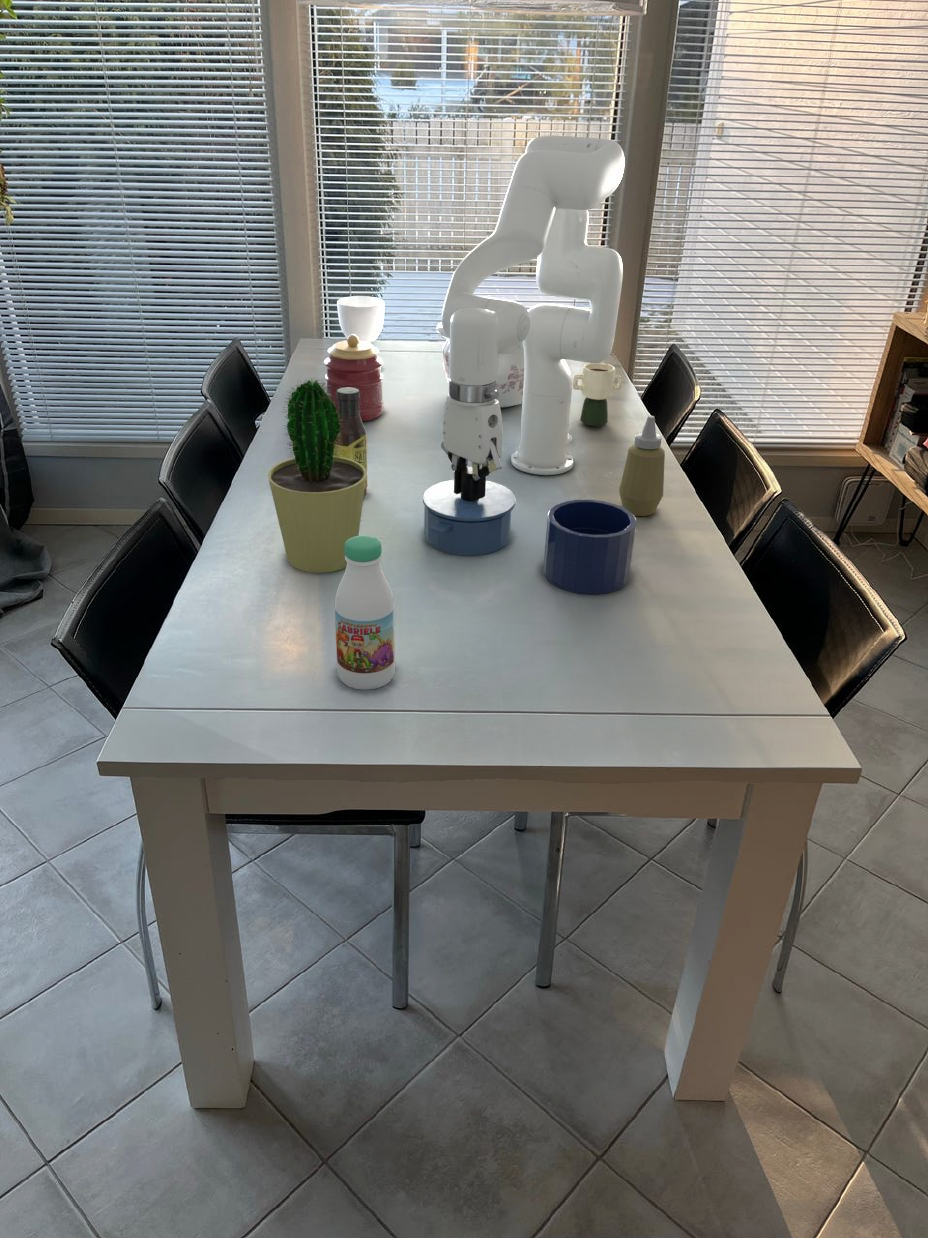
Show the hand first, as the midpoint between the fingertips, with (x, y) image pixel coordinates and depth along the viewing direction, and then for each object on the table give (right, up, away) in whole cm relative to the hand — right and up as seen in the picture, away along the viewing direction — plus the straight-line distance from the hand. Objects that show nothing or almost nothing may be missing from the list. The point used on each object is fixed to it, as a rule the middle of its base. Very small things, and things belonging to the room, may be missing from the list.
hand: (469, 494), depth 163 cm
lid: (0, -1, +1) cm, 1 cm away
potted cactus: (-24, -11, -4) cm, 27 cm away
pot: (+19, -14, -7) cm, 24 cm away
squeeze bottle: (+31, -1, +15) cm, 35 cm away
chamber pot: (+6, +31, +67) cm, 74 cm away
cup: (-27, +43, +84) cm, 98 cm away
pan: (0, -7, +4) cm, 8 cm away
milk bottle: (-14, -29, -33) cm, 46 cm away
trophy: (+28, +23, +54) cm, 65 cm away
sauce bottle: (-22, +2, +17) cm, 28 cm away
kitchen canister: (-26, +26, +56) cm, 67 cm away
